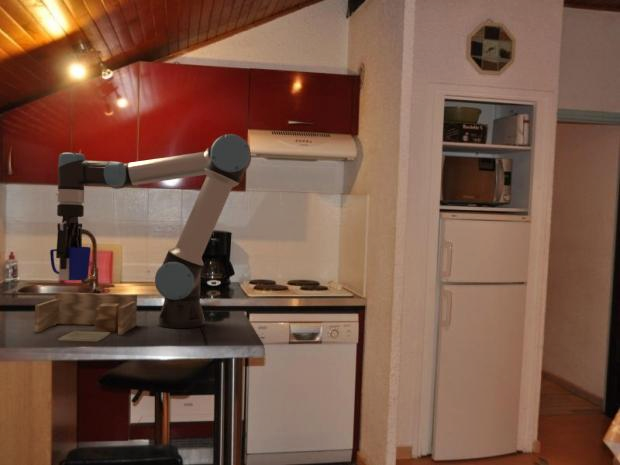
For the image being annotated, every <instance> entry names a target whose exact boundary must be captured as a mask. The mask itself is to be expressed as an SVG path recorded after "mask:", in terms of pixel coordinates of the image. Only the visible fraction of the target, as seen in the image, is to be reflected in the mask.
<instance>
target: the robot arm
mask: <svg viewBox="0 0 620 465" xmlns="http://www.w3.org/2000/svg"><path fill="white" fill-rule="evenodd" d="M251 160H252V153H251V148H250V146H249V143H248V142H247V141H246V140H245V139H244V138H243V137H242V136H239V135H237V134H233V133H230V134H229V133H227V134H224V135H221V136H219V137H218V138H217V139H216V140H215V141H213V144H212V145H211V147H207V148H206V150H205V151H199V152H195V153H187V154H181V155H180V154H179V155H174V156H166V157H159V158H153V159H152V158H151V159H147V160H140V161H139V160H138V161H134V162H133V161H132V162H128V163H126V162H125V163H124V162H121V161H114V160H110V161H108V160H107V161H106V160H105V161H104V160H87V159H86V156H85V154H83V153H76V152H62V153H60V154H59V155H58V163H57V164H58V166H57V192H56V194H55V195H56V196H57V202H58V203H59V204H58V205H57V208H56V209H57V210H56V213H57V217H62V220H61V222H58V223H57V226H56V228H57V237H56V238H57V239H56V249H57V251H55V252H56V254H55V257H56V258H55V259H59V270H58V272H59V274H58V275H59V276H58V277H59V278H58V280H59V281H70V280H69V259H68V256H69V248H70V247H75V248H78V247H83V238H82V237H83V233H82V232H83V223H81V222H80V223H79V218H83V217H84V214H85V213H84V210H85V206H84V205H83V204H84V203H85V186H99V187H100V186H102V187H109V188H112V189H113V190H114V189H115V190H118V189H119V190H120V189H124V188H126V187H127V188H128V187H131V186H136V185H137V186H138V185H145V184H151V183H159V182H167V181H170V180H171V181H172V180H177V179H178V180H179V179H184V178H185V179H186V178H190V177H191V178H192V177H199V176H205V175H206V177H205V179H204V182H203V183H202V185H201V188H200V191H198V192H199V193H198V195H197V197H196V200H195V202H194V204H193V206H192V209H191V211H190V213H189V214H188V215H189V216H188V218H187V219H186V220H187V221H186V222H185V224H184V227H183V229H182V231H181V234H180V236H179V239H178V241H177V243H176V245H175V247H172V248H170V249H168V251H167V253H166V256H165V258H164V260H163V262H162V264H161V266H160V267H159V268H158V269H157V271H156V273H155V276H154V283H155V287H156V290H157V292H158V293H159V294H160V295H161V296H162V297H163V298H164V300H163V304H162V307H161V310H160V313H159V314H158V315H159V316H158V319H157V320H158V321H157V324H158V326H160V327H162V328H163V327H164V328H169V329H171V328H172V329H190V328H199V327H203V326H205V319H206V318H205V315H204V312H203V311H204V310H203V308H202V305H201V277H202V275H201V274H202V270H203V267H204V261H203V258H202V257H203V255H204V253H205V251H206V248H207V246H208V243H209V242H210V240H211V237H212V235H213V232H214V230H215V227H216V226H217V223H218V220H219V218H220V216H221V214H222V211H223V209H224V207H225V205H226V203H227V200H228V198H229V196H230V193H231V191H232V189H233V188H235V187H236V186H239V184H240V183H241V180H242V179H243V175H244V173H245V171H246V170H247V169H248V168H249V166H250V165H251Z"/></svg>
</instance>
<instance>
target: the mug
mask: <svg viewBox="0 0 620 465" xmlns="http://www.w3.org/2000/svg"><path fill="white" fill-rule="evenodd" d="M91 248H92V247H90V246H82V247H78V248H75V247H70V248H69V256H68V259H69V280H68V281H84V280H87V278H88V276H89V270H90V269H89V268H90V260H91V259H90V258H91ZM56 251H57V248H53V249H50V251H49V254H50V264H51V265H50V266H51V269H52V271H53V272H54V273H55V274H56V275H59V270H57V268H56V265H55V264H56V263H55V256H54V252H56Z"/></svg>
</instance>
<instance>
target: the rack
mask: <svg viewBox="0 0 620 465" xmlns="http://www.w3.org/2000/svg"><path fill="white" fill-rule="evenodd" d="M54 295H55V296H54V299H50V300H48V301H45V302H41V303H39V304H35V305H34V332H35V333H41V331H44V329H45V330H47V329H49V328H52V327H54V326H56V324H57V325H59V324H60V325H87V326H88V325H89V326H90V325H91V326H92V325H93V326H95V319H97V318H99V306H100V305H102V304H103V303H106V304H119V314H118V331H117V335H124V334H125V333H127V332H129V330H131V329H133V328H134V327H136V326H137V314H138V313H137V311H138V310H137V309H138V294H122V293H121V294H120V293H119V294H118V293H117V294H116V293H94V292H92V293H91V292H90V293H88V292H84V293H83V292H82V293H81V292H57V291H56V292H55V293H54ZM53 325H54V326H53ZM51 326H52V327H51ZM48 327H49V328H48ZM46 328H47V329H46ZM126 331H127V332H126Z"/></svg>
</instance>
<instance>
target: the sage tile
mask: <svg viewBox="0 0 620 465" xmlns="http://www.w3.org/2000/svg"><path fill="white" fill-rule="evenodd" d="M110 335H111V332H95V331H88V330H87V331H84V330H83V331H82V330H81V331H80V330H72V331H71V332H69V333H67V334H64V335H62V336H61V337H59V338H57V339H58V340H57V341H62V342H63V341H64V342H66V341H67V342H94V343H95V342H100V341H101V340H103V339H105V338H106V337H108V336H110Z"/></svg>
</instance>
